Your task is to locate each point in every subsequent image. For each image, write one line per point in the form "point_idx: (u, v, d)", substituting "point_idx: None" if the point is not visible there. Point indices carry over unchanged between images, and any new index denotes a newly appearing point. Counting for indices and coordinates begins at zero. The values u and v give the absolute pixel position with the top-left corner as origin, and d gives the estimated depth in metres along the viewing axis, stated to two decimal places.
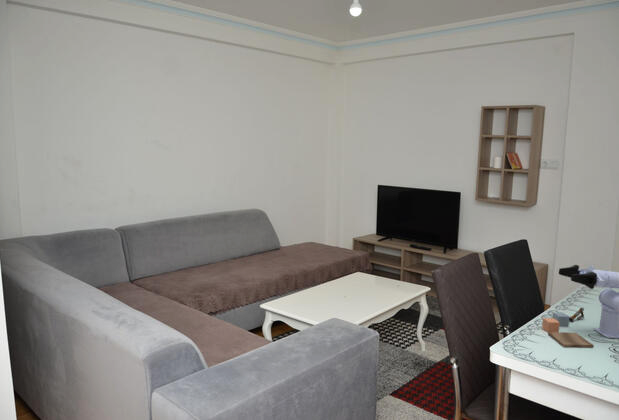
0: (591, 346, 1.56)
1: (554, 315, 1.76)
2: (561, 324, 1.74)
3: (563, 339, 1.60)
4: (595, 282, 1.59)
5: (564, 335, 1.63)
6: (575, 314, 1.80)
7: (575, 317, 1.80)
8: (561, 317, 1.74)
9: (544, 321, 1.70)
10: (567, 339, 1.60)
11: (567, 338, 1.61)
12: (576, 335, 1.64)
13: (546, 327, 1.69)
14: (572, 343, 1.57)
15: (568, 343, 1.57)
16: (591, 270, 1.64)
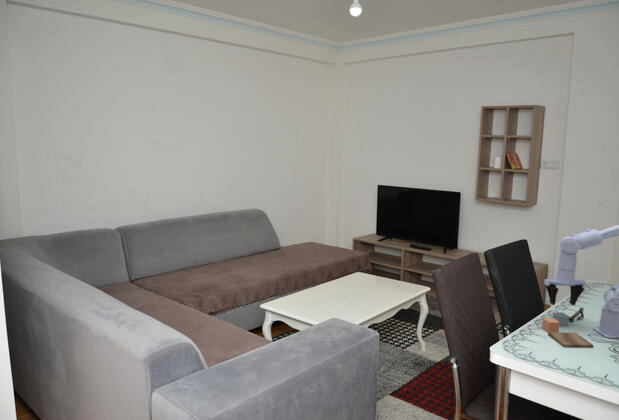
0: (591, 346, 1.56)
1: (554, 315, 1.76)
2: (561, 324, 1.74)
3: (563, 339, 1.60)
4: (548, 285, 1.74)
5: (564, 335, 1.63)
6: (575, 314, 1.80)
7: (575, 316, 1.80)
8: (561, 317, 1.74)
9: (544, 321, 1.70)
10: (567, 339, 1.60)
11: (567, 338, 1.61)
12: (576, 335, 1.64)
13: (546, 327, 1.69)
14: (572, 343, 1.57)
15: (568, 343, 1.57)
16: None
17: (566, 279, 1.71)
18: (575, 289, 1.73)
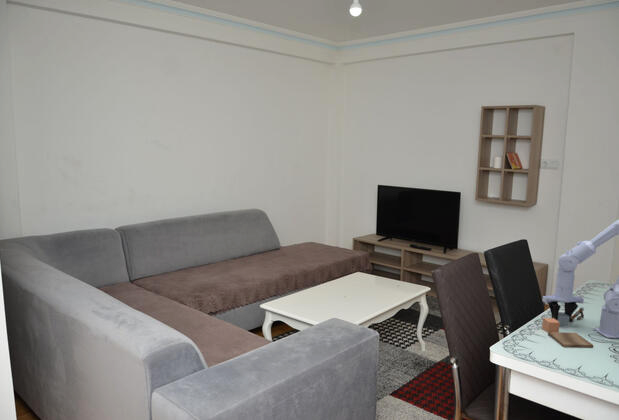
0: (591, 346, 1.56)
1: None
2: (561, 323, 1.74)
3: (563, 339, 1.60)
4: (550, 302, 1.75)
5: (564, 335, 1.63)
6: (575, 314, 1.80)
7: (575, 316, 1.80)
8: (561, 317, 1.74)
9: (544, 321, 1.70)
10: (567, 339, 1.60)
11: (567, 338, 1.61)
12: (576, 335, 1.64)
13: (546, 327, 1.69)
14: (572, 343, 1.57)
15: (568, 343, 1.57)
16: None
17: (564, 297, 1.72)
18: (569, 306, 1.74)
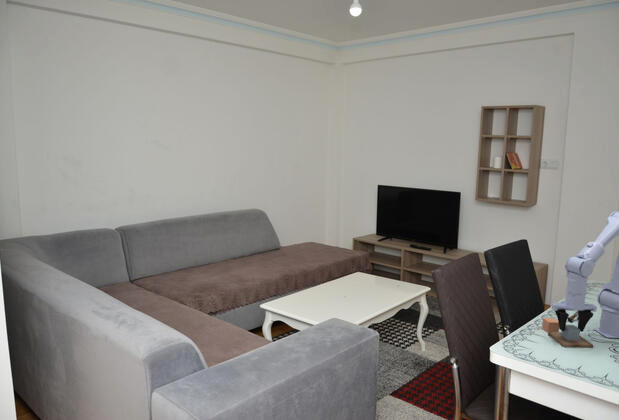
0: (591, 346, 1.56)
1: None
2: (571, 337, 1.59)
3: (563, 339, 1.60)
4: (557, 310, 1.59)
5: None
6: (574, 314, 1.80)
7: (574, 317, 1.80)
8: (571, 330, 1.59)
9: (544, 321, 1.70)
10: None
11: None
12: None
13: (546, 327, 1.69)
14: (572, 343, 1.57)
15: (568, 343, 1.57)
16: None
17: (575, 304, 1.56)
18: (583, 315, 1.59)
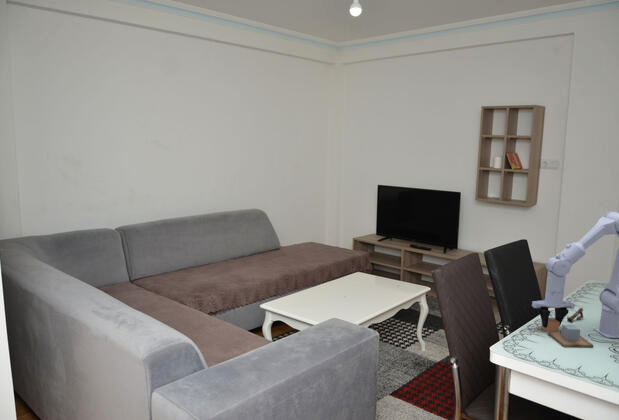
0: (591, 346, 1.56)
1: (563, 327, 1.62)
2: (571, 337, 1.59)
3: (563, 339, 1.60)
4: (540, 308, 1.68)
5: None
6: (574, 314, 1.80)
7: (574, 317, 1.80)
8: (571, 330, 1.59)
9: None
10: None
11: None
12: None
13: None
14: (572, 343, 1.57)
15: (568, 343, 1.57)
16: None
17: (554, 302, 1.66)
18: (559, 312, 1.68)
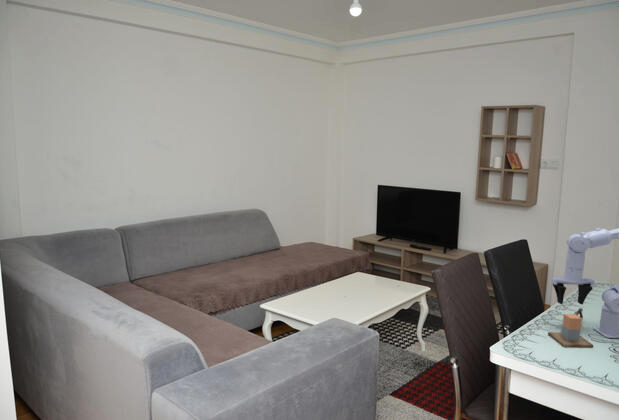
0: (591, 346, 1.56)
1: (563, 327, 1.62)
2: (571, 337, 1.59)
3: (563, 339, 1.60)
4: (556, 284, 1.70)
5: None
6: None
7: None
8: (571, 330, 1.59)
9: (565, 317, 1.61)
10: None
11: None
12: None
13: (567, 323, 1.59)
14: (572, 343, 1.57)
15: (568, 343, 1.57)
16: None
17: (574, 278, 1.68)
18: (583, 288, 1.70)
